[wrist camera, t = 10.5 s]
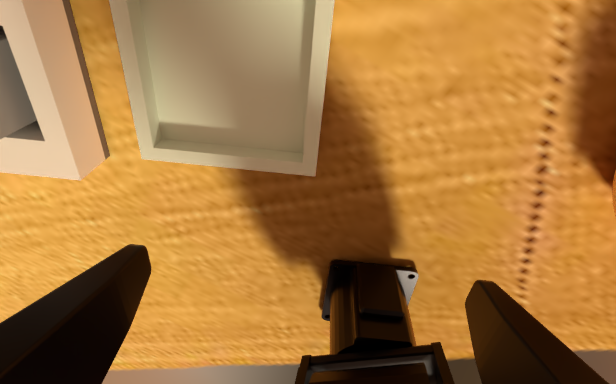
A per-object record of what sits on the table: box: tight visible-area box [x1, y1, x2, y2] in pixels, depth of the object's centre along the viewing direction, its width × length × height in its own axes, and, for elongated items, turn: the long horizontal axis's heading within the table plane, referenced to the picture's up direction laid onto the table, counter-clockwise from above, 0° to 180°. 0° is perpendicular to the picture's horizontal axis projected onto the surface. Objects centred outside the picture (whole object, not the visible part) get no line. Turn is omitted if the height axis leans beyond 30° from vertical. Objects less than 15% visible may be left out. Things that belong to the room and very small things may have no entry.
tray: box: [109, 0, 335, 176], centre depth 18 cm, size 10×10×2 cm
